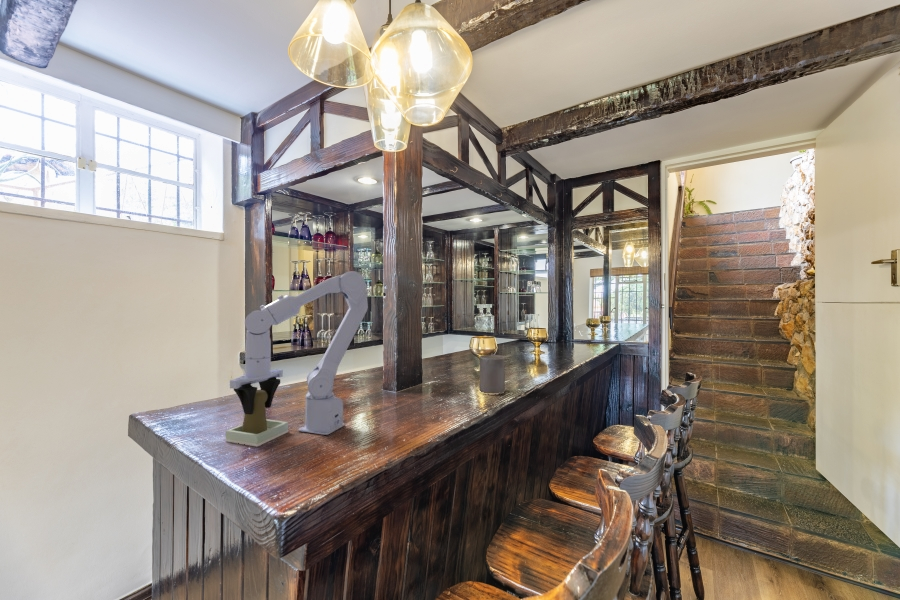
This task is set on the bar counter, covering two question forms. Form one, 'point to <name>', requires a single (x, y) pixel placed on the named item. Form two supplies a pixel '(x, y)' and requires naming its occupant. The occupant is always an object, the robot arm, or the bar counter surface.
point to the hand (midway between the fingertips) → (257, 410)
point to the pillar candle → (492, 373)
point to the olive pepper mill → (256, 415)
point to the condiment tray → (256, 440)
